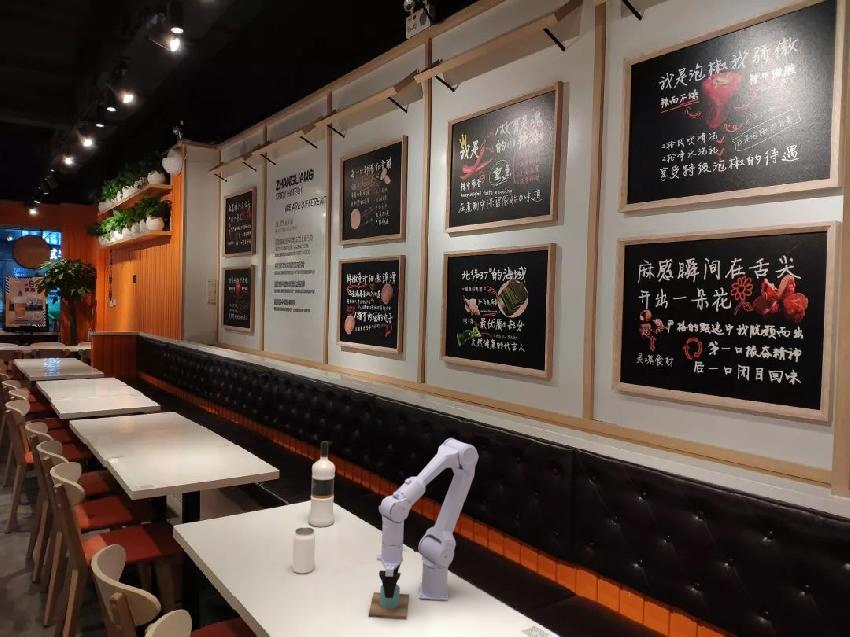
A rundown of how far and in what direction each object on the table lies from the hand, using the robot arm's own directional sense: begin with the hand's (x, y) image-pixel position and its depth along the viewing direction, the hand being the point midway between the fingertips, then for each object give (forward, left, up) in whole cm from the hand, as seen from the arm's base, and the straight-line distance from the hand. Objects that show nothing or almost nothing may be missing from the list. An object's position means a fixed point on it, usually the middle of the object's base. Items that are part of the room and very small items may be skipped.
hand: (390, 590), depth 171 cm
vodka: (-57, -30, -5) cm, 65 cm away
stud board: (0, 0, -5) cm, 5 cm away
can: (-19, -28, -5) cm, 34 cm away
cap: (0, 0, -4) cm, 4 cm away
